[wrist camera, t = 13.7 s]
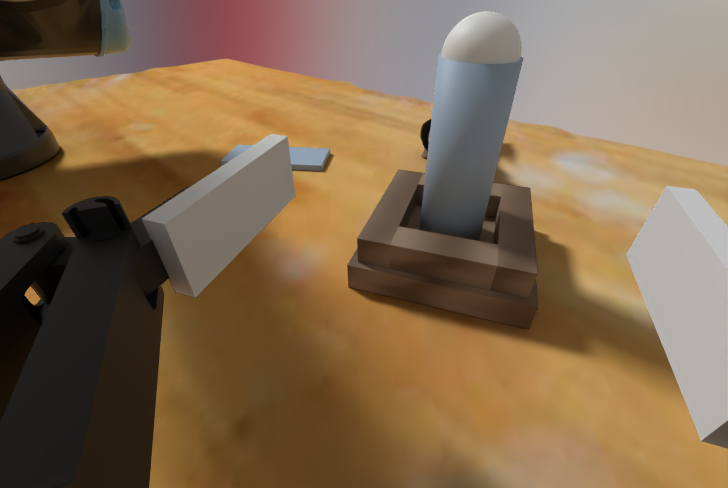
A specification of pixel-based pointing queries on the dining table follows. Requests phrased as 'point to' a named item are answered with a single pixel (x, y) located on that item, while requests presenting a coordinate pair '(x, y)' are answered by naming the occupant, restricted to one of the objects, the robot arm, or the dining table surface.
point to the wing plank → (292, 157)
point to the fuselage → (469, 122)
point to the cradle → (451, 255)
